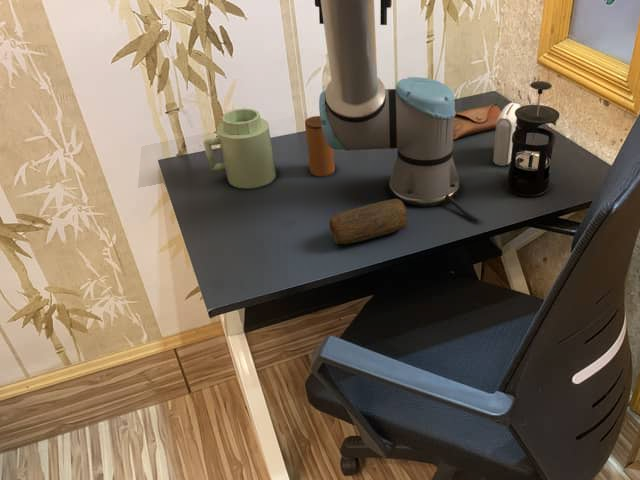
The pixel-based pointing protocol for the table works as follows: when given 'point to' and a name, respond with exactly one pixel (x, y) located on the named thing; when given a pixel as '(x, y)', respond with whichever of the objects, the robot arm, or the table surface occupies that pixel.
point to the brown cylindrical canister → (318, 148)
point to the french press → (532, 148)
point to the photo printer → (505, 134)
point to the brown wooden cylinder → (368, 221)
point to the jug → (243, 149)
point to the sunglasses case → (475, 121)
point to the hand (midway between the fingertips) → (353, 24)
